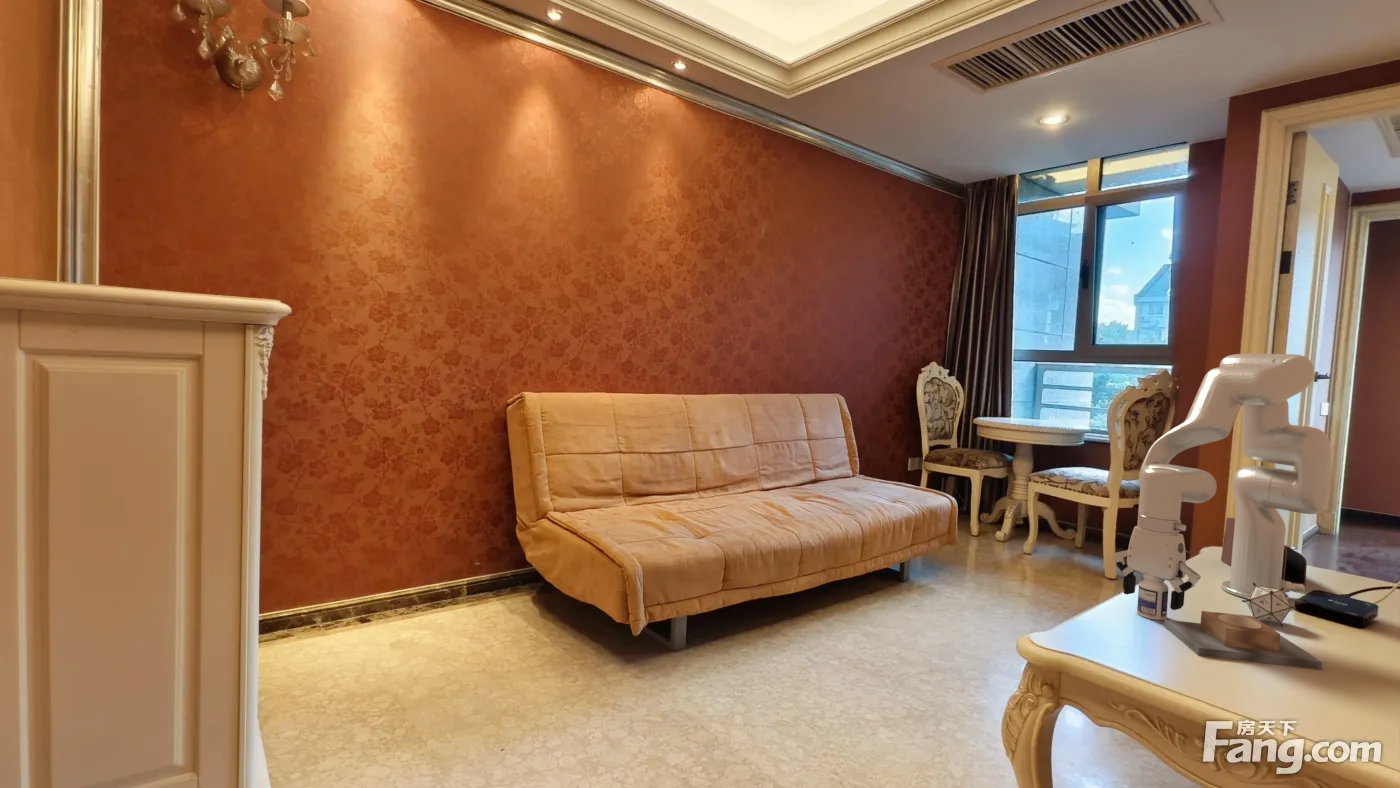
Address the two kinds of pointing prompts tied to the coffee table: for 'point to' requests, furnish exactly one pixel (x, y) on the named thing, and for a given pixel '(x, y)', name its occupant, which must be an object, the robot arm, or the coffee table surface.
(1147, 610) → the pill bottle
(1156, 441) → the robot arm
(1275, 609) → the game die
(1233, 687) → the coffee table surface
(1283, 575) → the letter holder
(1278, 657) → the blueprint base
